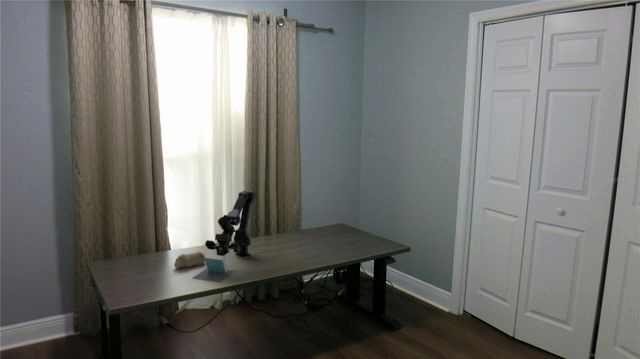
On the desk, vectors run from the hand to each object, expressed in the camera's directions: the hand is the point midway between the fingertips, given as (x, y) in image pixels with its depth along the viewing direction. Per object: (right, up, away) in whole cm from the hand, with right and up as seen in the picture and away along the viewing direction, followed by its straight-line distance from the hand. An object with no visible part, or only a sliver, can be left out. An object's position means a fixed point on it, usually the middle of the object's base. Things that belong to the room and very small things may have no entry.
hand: (217, 260), depth 235 cm
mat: (-1, -7, -3) cm, 8 cm away
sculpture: (-17, -5, +9) cm, 20 cm away
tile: (0, -5, +1) cm, 6 cm away
